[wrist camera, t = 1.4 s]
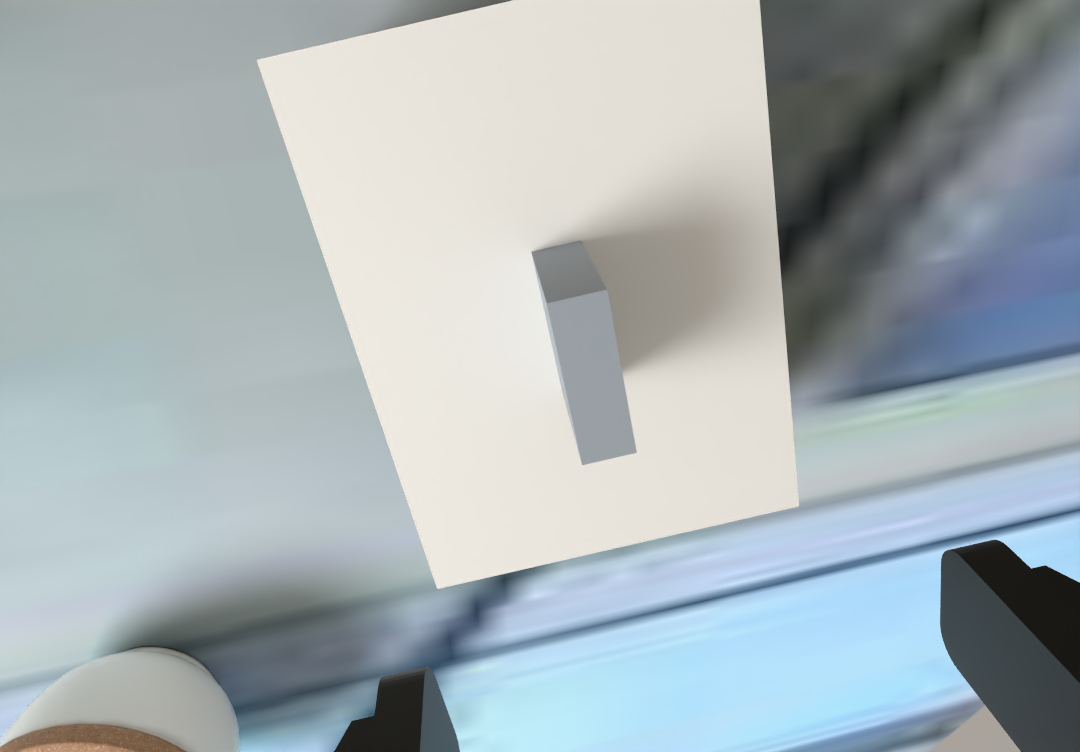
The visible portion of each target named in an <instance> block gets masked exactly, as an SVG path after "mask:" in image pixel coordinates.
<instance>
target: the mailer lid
mask: <svg viewBox="0 0 1080 752" xmlns="http://www.w3.org/2000/svg"><path fill="white" fill-rule="evenodd" d="M257 62H258V65H259V68H260V71H261V74H262V77H263V80H264V83H265V86H266V89H267V92H268V95H269V98H270V100H271V103H272V106H273V109H274V112H275V115H276V118H277V121H278V124H279V127H280V130H281V133H282V136H283V139H284V141H285V144H286V147H287V150H288V153H289V156H290V159H291V162H292V165H293V168H294V171H295V174H296V177H297V180H298V182H299V185H300V188H301V191H302V194H303V197H304V200H305V203H306V206H307V209H308V212H309V215H310V218H311V221H312V223H313V226H314V229H315V232H316V235H317V238H318V241H319V244H320V247H321V250H322V253H323V256H324V259H325V261H326V264H327V267H328V270H329V273H330V276H331V279H332V282H333V285H334V288H335V291H336V294H337V297H338V300H339V302H340V305H341V308H342V311H343V314H344V317H345V320H346V323H347V326H348V329H349V332H350V335H351V338H352V341H353V343H354V346H355V349H356V352H357V355H358V358H359V361H360V364H361V367H362V370H363V373H364V376H365V379H366V381H367V384H368V387H369V390H370V393H371V396H372V399H373V402H374V405H375V408H376V411H377V414H378V417H379V420H380V422H381V425H382V428H383V431H384V434H385V437H386V440H387V443H388V446H389V449H390V452H391V455H392V458H393V461H394V463H395V466H396V469H397V472H398V475H399V478H400V481H401V484H402V487H403V490H404V493H405V496H406V499H407V501H408V504H409V507H410V510H411V513H412V516H413V519H414V522H415V525H416V528H417V531H418V534H419V537H420V540H421V542H422V545H423V548H424V551H425V554H426V557H427V560H428V563H429V566H430V569H431V572H432V575H433V578H434V581H435V583H436V586H437V589H440V588H444V587H448V586H453V585H457V584H461V583H466V582H470V581H474V580H479V579H483V578H488V577H492V576H496V575H501V574H505V573H509V572H514V571H518V570H523V569H527V568H531V567H536V566H540V565H544V564H549V563H553V562H557V561H562V560H566V559H571V558H575V557H579V556H584V555H588V554H592V553H597V552H601V551H605V550H610V549H614V548H619V547H623V546H627V545H632V544H636V543H640V542H645V541H649V540H653V539H658V538H662V537H667V536H671V535H675V534H680V533H684V532H688V531H693V530H697V529H701V528H706V527H710V526H715V525H719V524H723V523H728V522H732V521H736V520H741V519H745V518H749V517H754V516H758V515H763V514H767V513H771V512H776V511H780V510H784V509H789V508H793V507H797V506H799V500H798V487H797V475H796V462H795V449H794V436H793V423H792V410H791V398H790V385H789V372H788V359H787V346H786V333H785V321H784V308H783V295H782V282H781V269H780V256H779V244H778V231H777V218H776V205H775V192H774V179H773V167H772V154H771V141H770V128H769V115H768V102H767V90H766V77H765V64H764V51H763V38H762V26H761V13H760V0H512V1H508V2H504V3H499V4H495V5H491V6H486V7H482V8H478V9H473V10H469V11H465V12H461V13H456V14H452V15H448V16H443V17H439V18H435V19H430V20H426V21H422V22H418V23H413V24H409V25H405V26H400V27H396V28H392V29H388V30H383V31H379V32H375V33H370V34H366V35H362V36H357V37H353V38H349V39H345V40H340V41H336V42H332V43H327V44H323V45H319V46H314V47H310V48H306V49H302V50H297V51H293V52H289V53H284V54H280V55H276V56H271V57H267V58H263V59H259V60H257Z"/></svg>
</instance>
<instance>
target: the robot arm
mask: <svg viewBox="0 0 1080 752" xmlns="http://www.w3.org/2000/svg"><path fill="white" fill-rule="evenodd" d="M940 627H941V633H942V638H943V641H944V644H945V647H946V649H947V651H948V654H949V656H950V658H951V660H952V661H953V663H954V665H955V666H956V667H957V669H958V670H959V672H960V673H961V674H962V675H963V677H964V678H965V679H966V681H967V682H968V683H969V685H970V686H971V687H972V688H973V690H974V691H975V692H976V694H977V695H978V696H979V697H980V699H981V700H982V701H983V703H984V704H985V705H986V707H987V708H988V709H989V710H990V712H991V713H992V714H993V716H994V717H995V718H996V720H997V721H998V722H999V723H1000V725H1001V726H1002V727H1003V729H1004V730H1005V731H1006V733H1007V734H1008V735H1009V736H1010V738H1011V739H1012V740H1013V742H1014V743H1015V744H1016V746H1017V747H1018V748H1019V749H1020V751H1021V752H1080V583H1079V582H1077V581H1075V580H1073V579H1071V578H1069V577H1067V576H1065V575H1063V574H1061V573H1059V572H1057V571H1055V570H1053V569H1051V568H1049V567H1047V566H1041V567H1037V568H1032V569H1031V568H1030V567H1029V566H1028V565H1027V564H1026V563H1025V562H1023V561H1022V560H1021V559H1020V558H1019V557H1018V556H1017V555H1016V554H1015V553H1014V552H1013V551H1012V550H1011V549H1010V548H1009V547H1008V546H1006V545H1005V544H1004V543H1002V542H1001V541H998V540H991V541H987V542H982V543H978V544H973V545H969V546H965V547H960V548H956V549H951V550H947V551H945V552H944V554H943V555H942V560H941V609H940ZM334 752H460V750H459V745H458V740H457V737H456V733H455V730H454V728H453V725H452V722H451V719H450V717H449V714H448V711H447V708H446V706H445V703H444V700H443V697H442V695H441V692H440V689H439V686H438V684H437V681H436V678H435V675H434V673H433V671H432V669H431V668H430V667H424V668H420V669H416V670H411V671H407V672H402V673H398V674H394V675H389V676H385V677H382V678H381V680H380V682H379V687H378V694H377V701H376V709H375V716H372V717H368V718H363V719H359V720H354V721H352V722H351V724H350V725H349V727H348V729H347V730H346V732H345V734H344V736H343V737H342V739H341V741H340V743H339V744H338V746H337V748H336V750H335V751H334Z"/></svg>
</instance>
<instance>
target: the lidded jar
mask: <svg viewBox="0 0 1080 752" xmlns="http://www.w3.org/2000/svg"><path fill="white" fill-rule="evenodd" d="M0 752H240V733H239V727H238V721H237V718H236V715H235V711H234V709H233V707H232V704H231V702H230V700H229V698H228V697H227V695H226V693H225V692H224V690H223V689H222V688H221V687H220V685H219V684H218V683H217V682H216V680H215V678H214V677H213V675H212V674H211V672H210V671H209V670H208V669H207V668H206V667H205V666H204V665H203V664H202V663H200V662H199V661H198V660H196V659H195V658H193V657H191V656H189V655H187V654H185V653H182V652H179V651H177V650H173V649H168V648H162V647H139V648H134V649H129V650H126V651H123V652H121V653H116V654H111V655H107V656H103V657H100V658H97V659H94V660H92V661H89V662H87V663H85V664H82V665H80V666H78V667H76V668H75V669H73V670H71V671H69V672H68V673H66V674H64V675H63V676H62V677H60V678H59V679H57V680H56V681H54V682H53V683H52V684H51V685H49V686H48V687H47V688H46V689H44V690H43V691H42V692H41V693H40V694H39V695H38V696H37V697H36V698H35V699H34V700H33V701H32V702H31V703H30V704H29V705H28V706H27V707H26V708H25V709H24V711H23V712H22V713H21V714H20V715H19V716H18V718H17V719H16V720H15V721H14V722H13V724H12V725H11V726H10V727H9V728H8V730H7V731H6V732H5V734H4V735H3V736H2V738H1V739H0Z"/></svg>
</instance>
